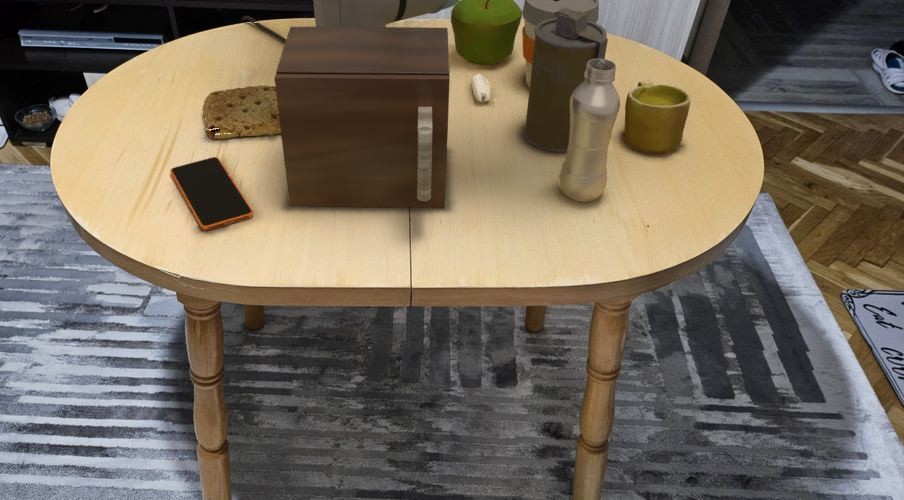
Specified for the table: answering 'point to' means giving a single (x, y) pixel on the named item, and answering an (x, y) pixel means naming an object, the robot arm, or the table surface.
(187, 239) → the table surface
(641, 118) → the mug
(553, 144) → the canister
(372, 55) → the cupboard
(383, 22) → the robot arm
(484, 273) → the table surface
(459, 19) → the apple
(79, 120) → the table surface
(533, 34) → the reusable coffee cup
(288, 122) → the cupboard door
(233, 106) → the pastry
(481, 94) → the white ridged oblong
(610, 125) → the plastic bottle
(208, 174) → the smartphone
